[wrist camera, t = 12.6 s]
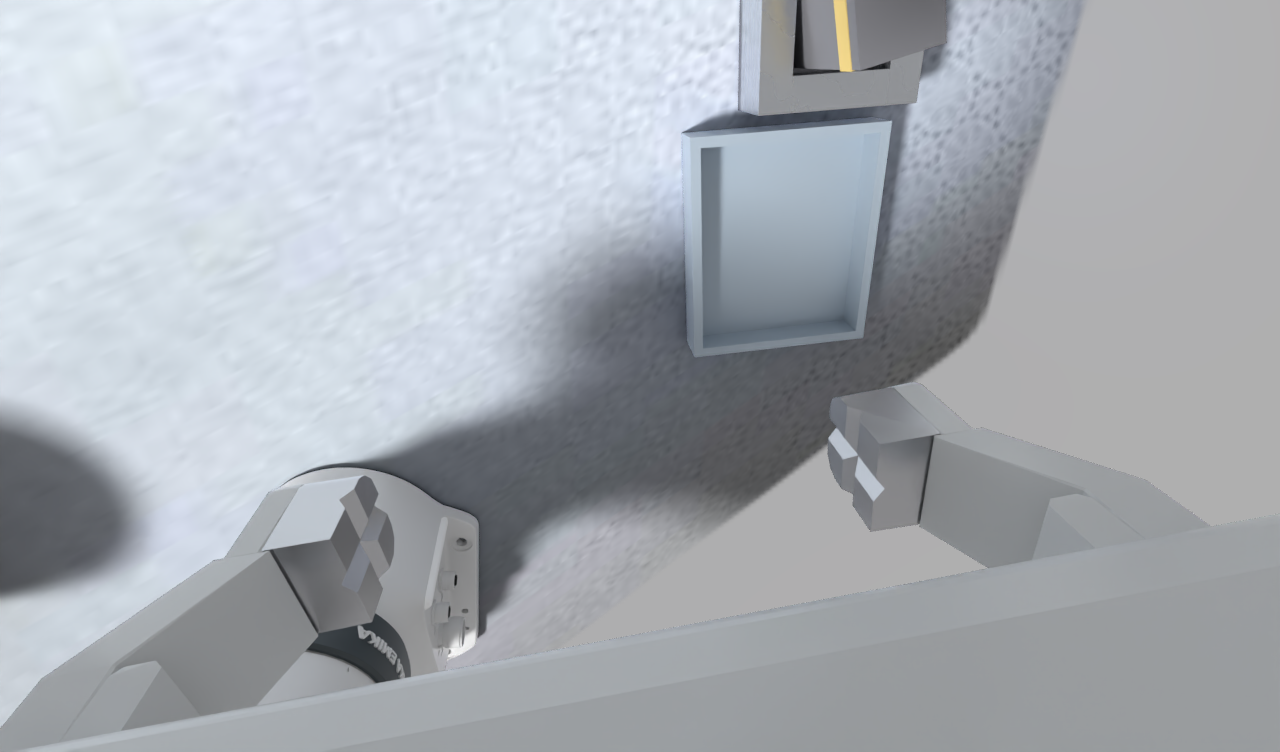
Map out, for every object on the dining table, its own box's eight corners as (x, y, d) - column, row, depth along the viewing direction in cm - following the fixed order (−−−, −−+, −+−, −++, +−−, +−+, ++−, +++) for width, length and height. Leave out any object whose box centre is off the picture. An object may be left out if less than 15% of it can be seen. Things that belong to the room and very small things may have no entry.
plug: (856, 47, 34) (947, 43, 26) (788, 69, 34) (859, 72, 26) (849, -36, 32) (946, -67, 24) (778, -13, 32) (850, -36, 24)
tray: (846, 323, 43) (863, 337, 41) (686, 341, 42) (694, 357, 40) (871, 117, 36) (892, 120, 34) (681, 132, 35) (690, 137, 33)
